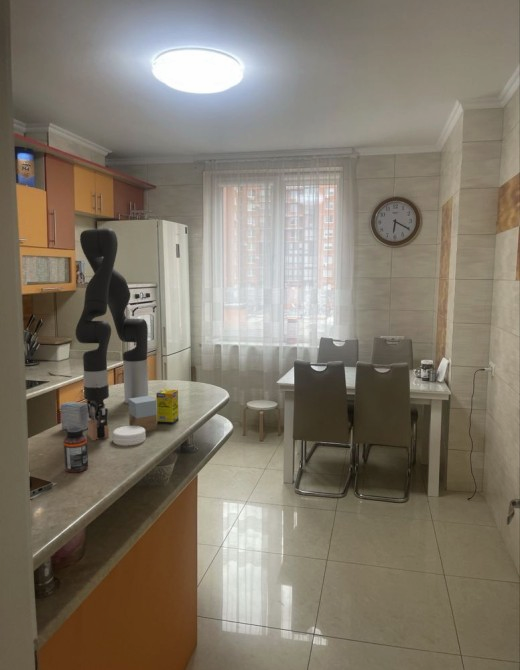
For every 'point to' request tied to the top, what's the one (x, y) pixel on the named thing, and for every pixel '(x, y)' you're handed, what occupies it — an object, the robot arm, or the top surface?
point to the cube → (95, 430)
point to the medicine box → (74, 415)
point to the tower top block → (142, 406)
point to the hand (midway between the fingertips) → (98, 435)
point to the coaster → (129, 435)
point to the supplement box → (167, 406)
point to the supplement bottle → (75, 450)
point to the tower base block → (144, 422)
